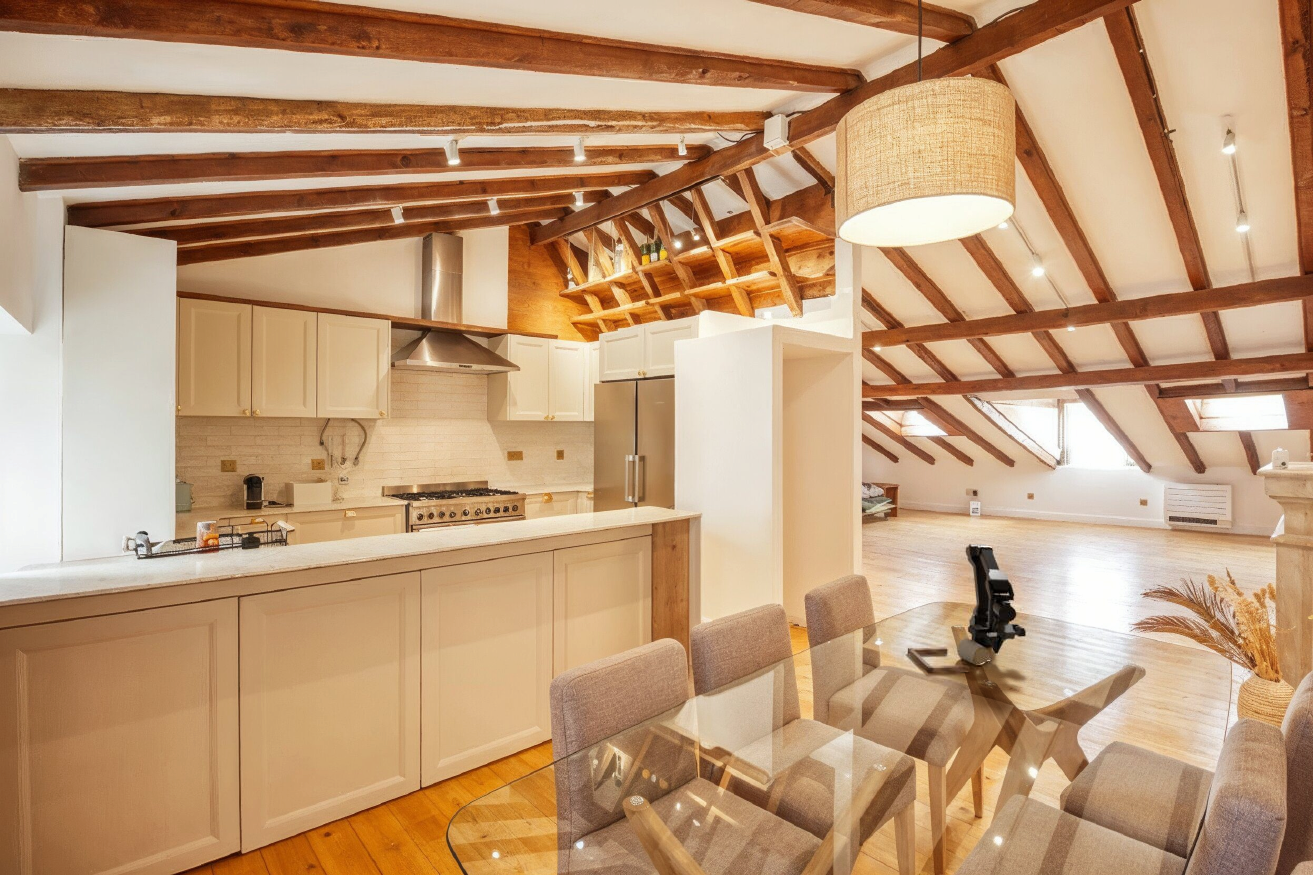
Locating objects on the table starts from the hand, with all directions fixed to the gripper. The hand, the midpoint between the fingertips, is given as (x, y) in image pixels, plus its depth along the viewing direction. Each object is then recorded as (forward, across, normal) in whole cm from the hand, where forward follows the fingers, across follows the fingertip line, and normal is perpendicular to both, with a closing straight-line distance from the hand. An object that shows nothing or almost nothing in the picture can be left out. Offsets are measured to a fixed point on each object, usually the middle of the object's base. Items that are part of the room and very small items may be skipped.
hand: (995, 653), depth 232 cm
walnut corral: (+3, -22, 0) cm, 22 cm away
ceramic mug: (+3, -7, 0) cm, 8 cm away
